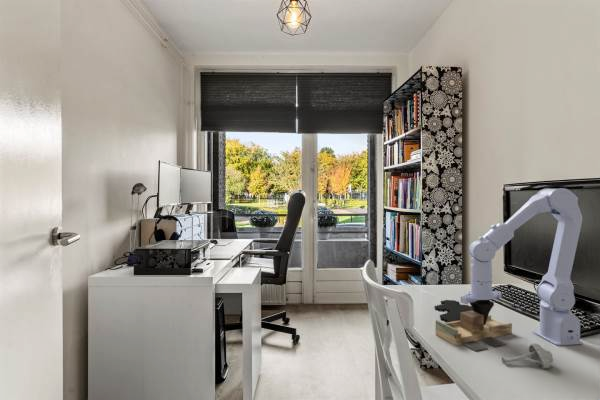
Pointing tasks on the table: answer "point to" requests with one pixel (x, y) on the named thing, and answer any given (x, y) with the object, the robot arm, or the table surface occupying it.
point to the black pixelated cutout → (452, 310)
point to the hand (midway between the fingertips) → (481, 323)
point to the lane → (473, 334)
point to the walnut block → (471, 320)
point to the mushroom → (534, 356)
